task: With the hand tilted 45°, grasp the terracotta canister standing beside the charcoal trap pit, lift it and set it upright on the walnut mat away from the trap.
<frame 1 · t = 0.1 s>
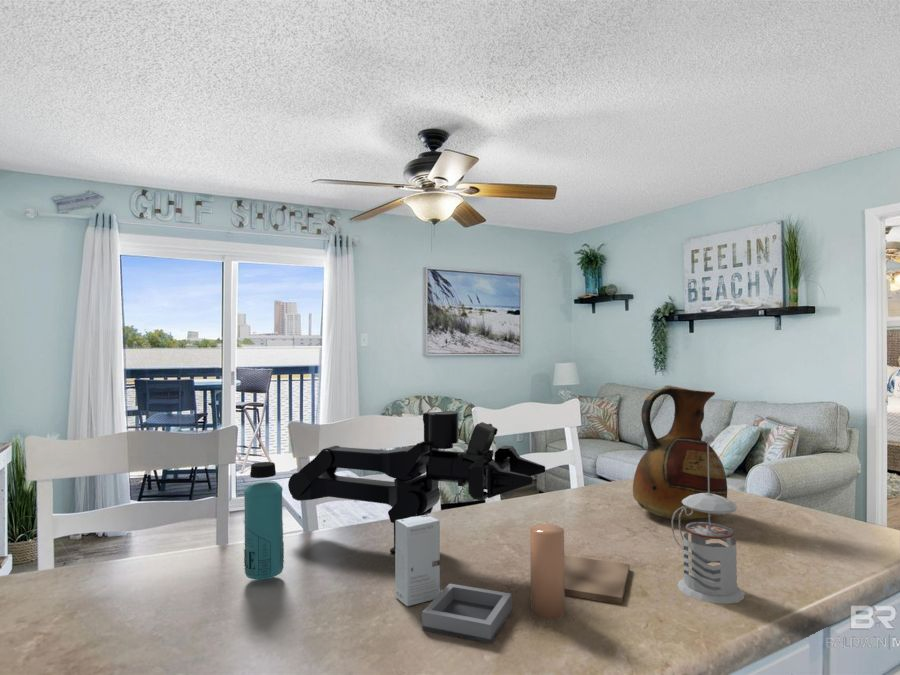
hand: (539, 474, 99), 17 cm above the kitchen counter, tool horizontal, fingers open, 9 cm apart
french press: (705, 588, 90), on the kitchen counter
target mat: (582, 579, 94), on the kitchen counter
beverage bottle: (263, 582, 94), on the kitchen counter
trap pit: (468, 619, 80), on the kitchen counter
ceramic pitcher: (679, 516, 129), on the kitchen counter
terracotta canister: (547, 610, 83), on the kitchen counter
skincare box: (417, 598, 88), on the kitchen counter
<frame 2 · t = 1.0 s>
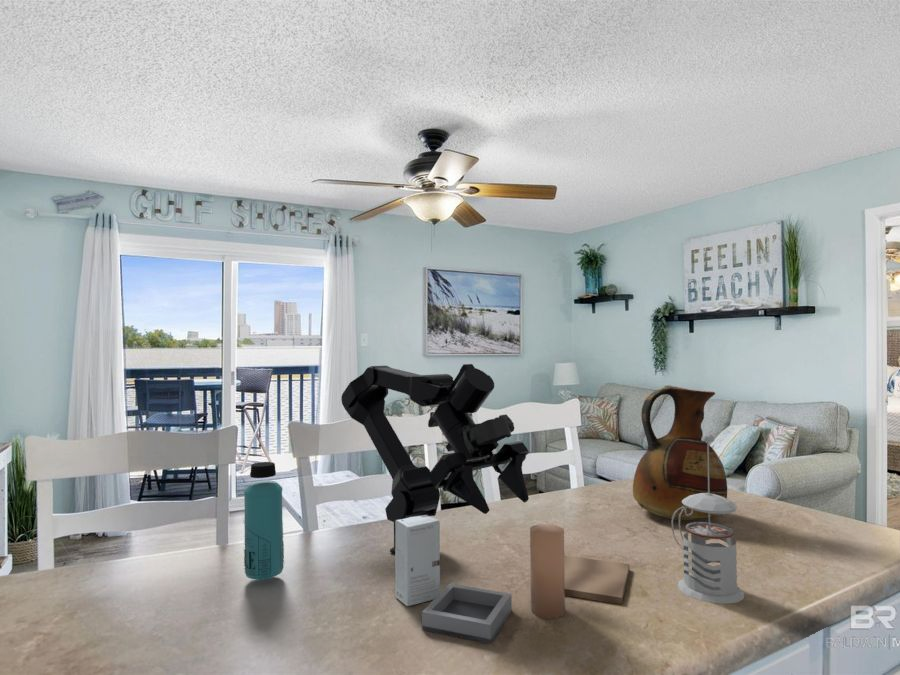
hand: (507, 506, 89), 14 cm above the kitchen counter, tool tilted 45°, fingers open, 9 cm apart
nothing on the kitchen counter moved.
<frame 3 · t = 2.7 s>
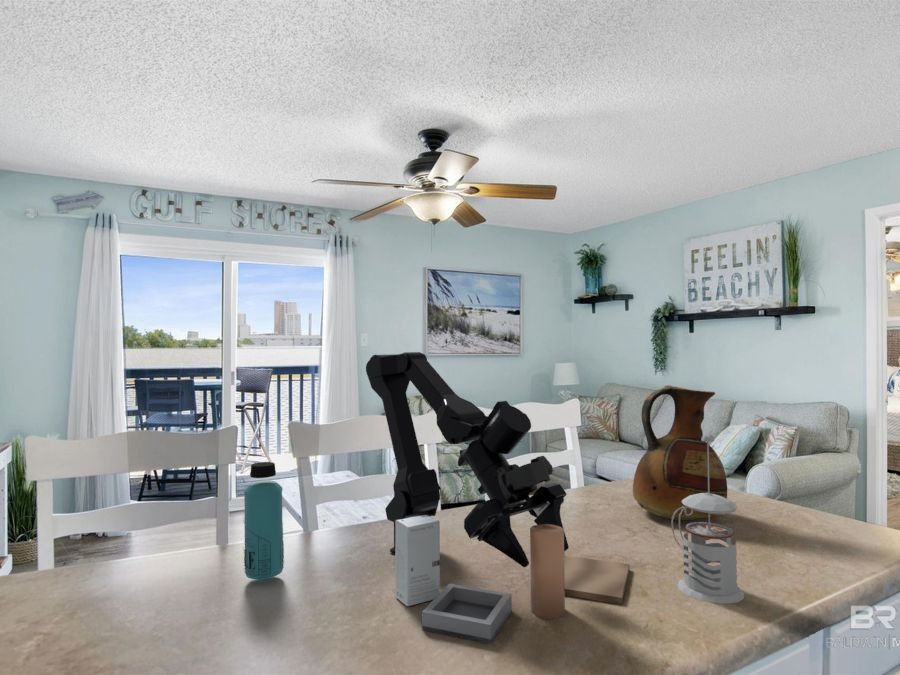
hand: (547, 557, 83), 8 cm above the kitchen counter, tool tilted 45°, fingers open, 9 cm apart
nothing on the kitchen counter moved.
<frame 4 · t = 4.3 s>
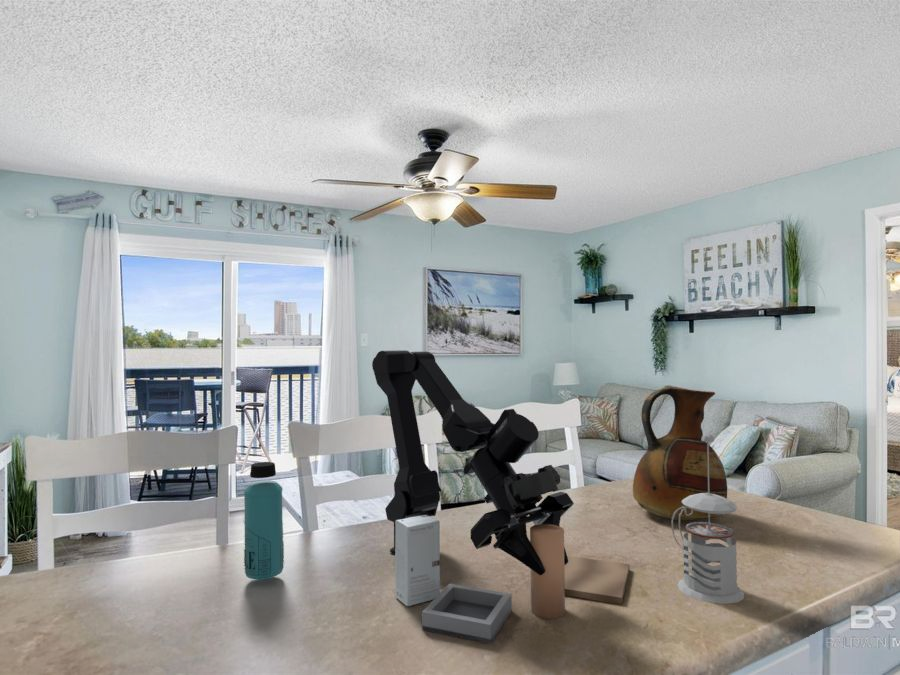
hand: (554, 568, 82), 7 cm above the kitchen counter, tool tilted 45°, fingers closed on terracotta canister, 5 cm apart
terracotta canister: (547, 610, 83), on the kitchen counter, touching gripper
everything else where it was.
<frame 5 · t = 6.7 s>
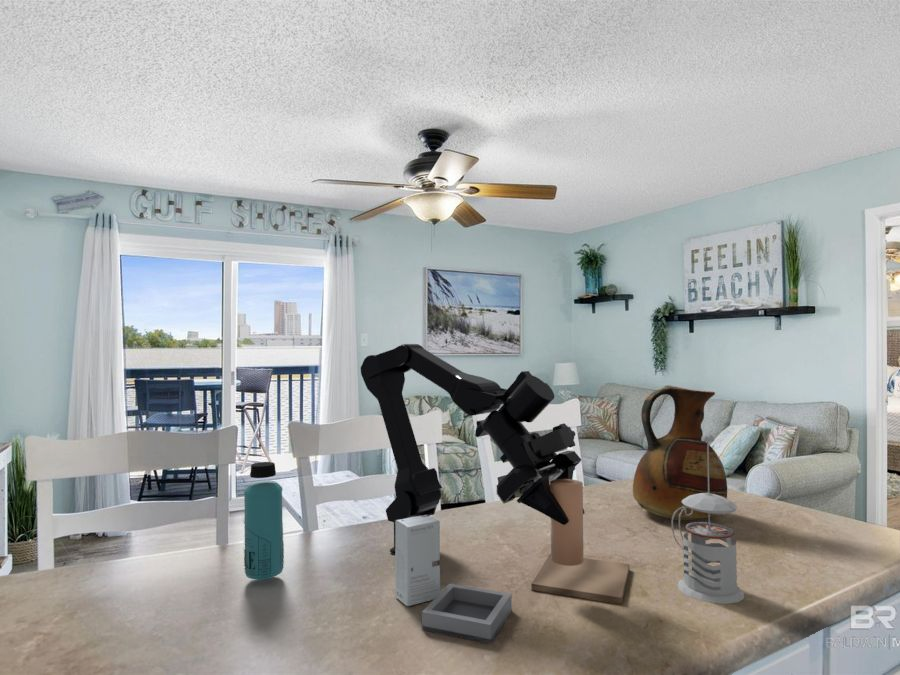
hand: (574, 518, 87), 12 cm above the kitchen counter, tool tilted 45°, fingers closed on terracotta canister, 5 cm apart
terracotta canister: (567, 559, 87), point 6 cm above the kitchen counter, touching gripper
everything else where it was.
when the fingers open (9 cm above the kitchen counter, at t = 9.0 s): terracotta canister drops 1 cm, resting on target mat.
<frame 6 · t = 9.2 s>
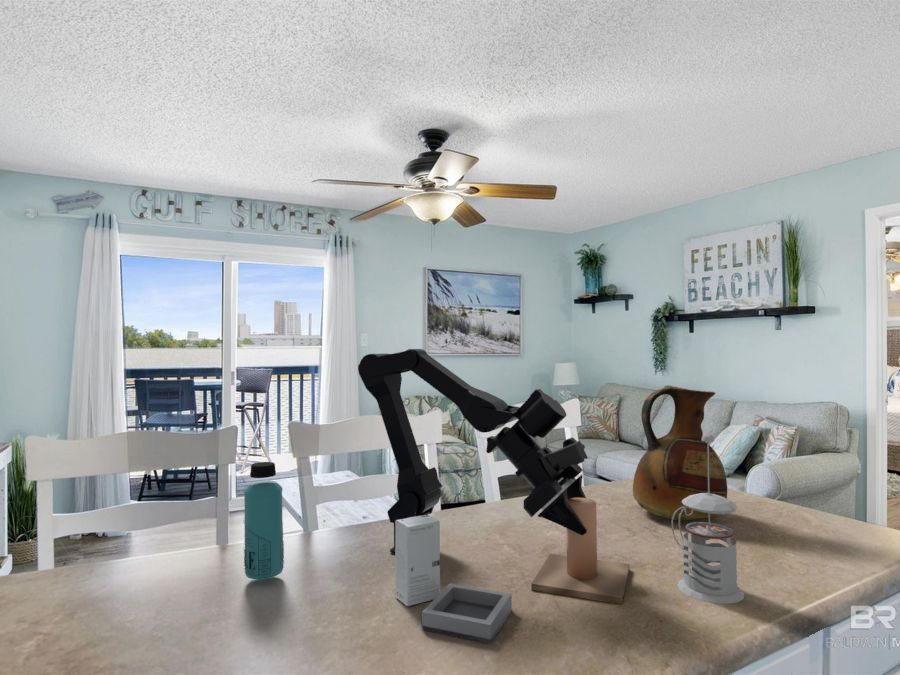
hand: (590, 526, 93), 9 cm above the kitchen counter, tool tilted 45°, fingers open, 7 cm apart
terracotta canister: (582, 572, 94), point 1 cm above the kitchen counter, touching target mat
everything else where it was.
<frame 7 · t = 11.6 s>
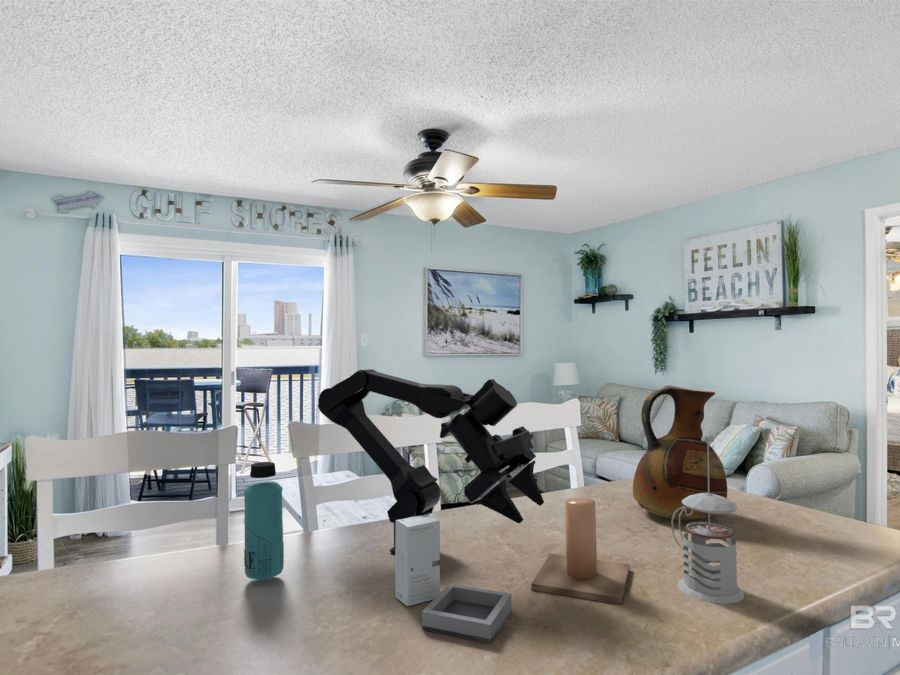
hand: (532, 512, 97), 10 cm above the kitchen counter, tool tilted 40°, fingers open, 9 cm apart
nothing on the kitchen counter moved.
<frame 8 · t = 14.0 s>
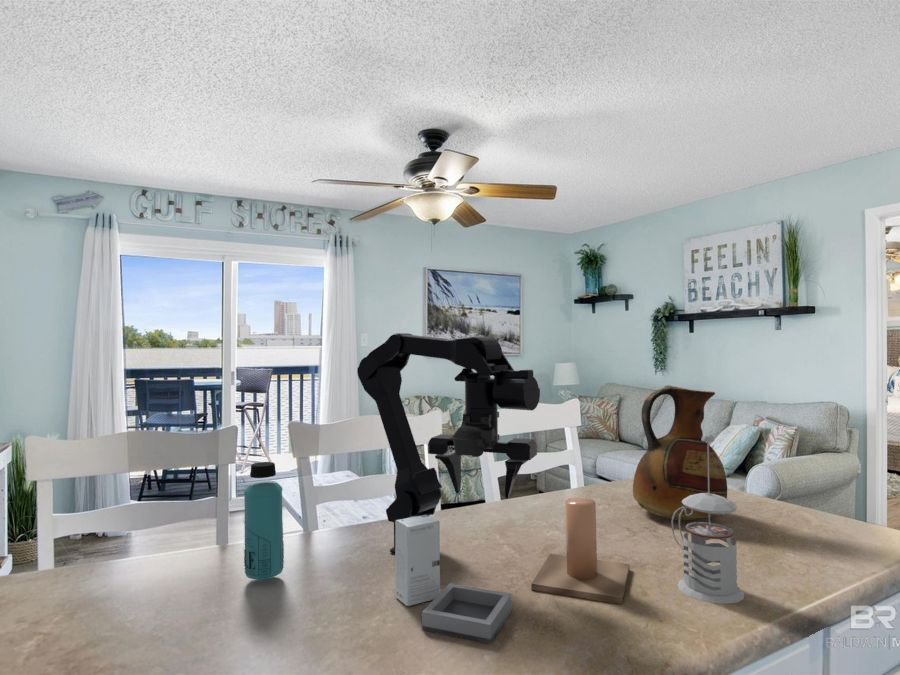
hand: (482, 495, 99), 13 cm above the kitchen counter, tool pointing down, fingers open, 9 cm apart
nothing on the kitchen counter moved.
at the end: terracotta canister inside the target area on the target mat (0.1 cm from its centre), point 1.1 cm above the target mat's base; terracotta canister tilted 1°; the gripper is holding nothing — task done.
